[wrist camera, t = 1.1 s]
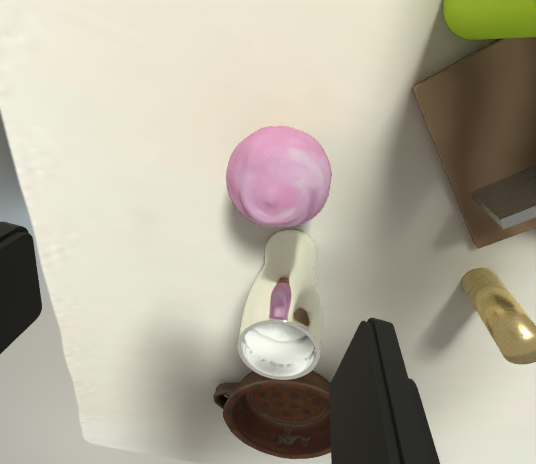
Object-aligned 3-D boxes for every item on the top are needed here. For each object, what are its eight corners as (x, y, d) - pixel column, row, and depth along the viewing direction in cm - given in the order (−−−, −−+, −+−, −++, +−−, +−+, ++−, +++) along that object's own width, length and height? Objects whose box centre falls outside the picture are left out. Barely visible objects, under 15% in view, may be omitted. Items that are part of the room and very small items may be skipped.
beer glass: (250, 254, 41) (218, 351, 28) (286, 213, 38) (269, 302, 25) (295, 286, 42) (285, 393, 29) (333, 249, 39) (342, 352, 26)
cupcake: (247, 198, 37) (225, 245, 29) (237, 116, 33) (208, 141, 25) (329, 196, 36) (333, 243, 27) (329, 110, 32) (333, 133, 23)
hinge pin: (491, 263, 37) (544, 329, 29) (500, 287, 39) (553, 357, 30) (457, 275, 39) (497, 342, 30) (467, 298, 40) (509, 368, 31)
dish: (356, 435, 55) (360, 468, 51) (223, 420, 58) (215, 451, 53) (369, 359, 47) (374, 391, 42) (212, 346, 50) (202, 375, 45)
